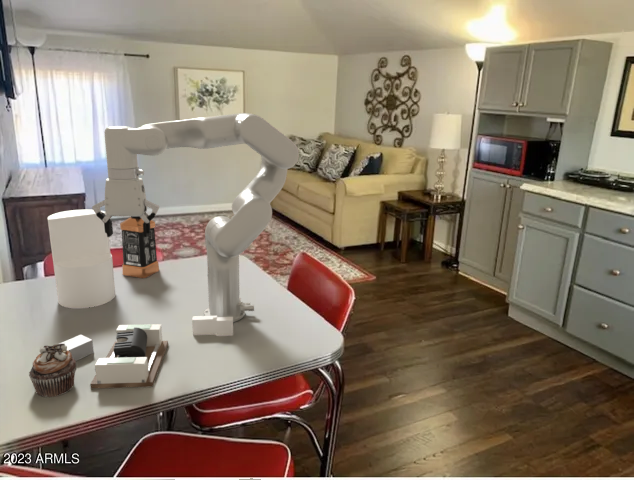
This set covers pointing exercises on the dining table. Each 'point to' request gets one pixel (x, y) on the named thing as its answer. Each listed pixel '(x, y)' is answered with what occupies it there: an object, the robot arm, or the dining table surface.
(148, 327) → the mounted modules
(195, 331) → the white stepped block
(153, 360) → the rail
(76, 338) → the block
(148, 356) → the rail board
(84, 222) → the cylinder
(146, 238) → the whiskey bottle
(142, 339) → the end cap
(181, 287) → the dining table surface
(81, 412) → the dining table surface
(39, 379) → the cupcake
